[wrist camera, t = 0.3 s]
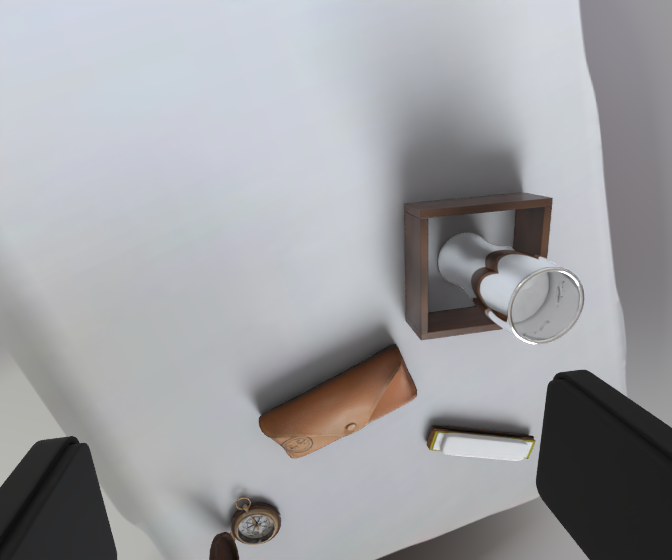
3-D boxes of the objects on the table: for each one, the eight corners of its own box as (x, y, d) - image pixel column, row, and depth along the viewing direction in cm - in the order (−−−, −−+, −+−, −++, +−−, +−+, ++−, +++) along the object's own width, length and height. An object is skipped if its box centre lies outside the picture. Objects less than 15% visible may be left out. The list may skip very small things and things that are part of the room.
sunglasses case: (293, 464, 52) (281, 481, 45) (267, 411, 53) (252, 420, 46) (422, 394, 52) (429, 400, 45) (394, 342, 53) (396, 341, 46)
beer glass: (485, 219, 47) (581, 251, 32) (497, 275, 49) (591, 328, 35) (427, 241, 46) (498, 283, 32) (441, 296, 49) (514, 359, 34)
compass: (288, 526, 55) (292, 580, 48) (231, 550, 55) (227, 608, 48) (264, 482, 52) (264, 533, 46) (204, 507, 52) (195, 562, 45)
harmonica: (530, 433, 57) (539, 443, 55) (523, 452, 58) (531, 463, 56) (432, 423, 54) (438, 433, 52) (425, 443, 55) (431, 454, 53)
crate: (403, 203, 45) (420, 210, 40) (523, 192, 46) (552, 197, 42) (405, 321, 49) (420, 340, 44) (515, 307, 51) (541, 324, 46)
